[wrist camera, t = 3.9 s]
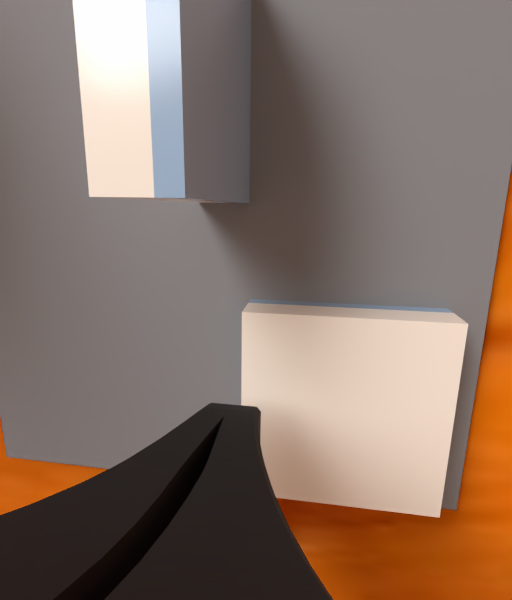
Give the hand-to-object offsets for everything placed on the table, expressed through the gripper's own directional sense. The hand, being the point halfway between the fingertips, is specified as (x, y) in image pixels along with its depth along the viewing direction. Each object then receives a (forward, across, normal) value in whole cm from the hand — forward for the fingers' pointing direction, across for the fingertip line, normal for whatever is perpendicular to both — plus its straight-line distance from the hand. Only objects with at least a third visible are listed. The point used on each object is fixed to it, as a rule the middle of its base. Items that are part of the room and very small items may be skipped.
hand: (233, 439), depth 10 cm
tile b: (+3, +1, -9) cm, 10 cm away
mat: (+4, +2, -4) cm, 6 cm away
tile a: (+2, 0, 0) cm, 2 cm away
